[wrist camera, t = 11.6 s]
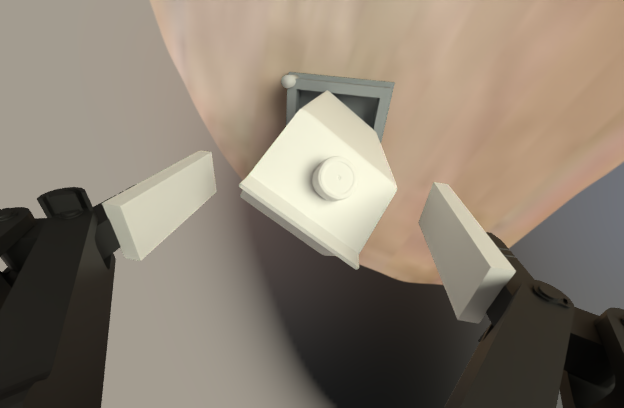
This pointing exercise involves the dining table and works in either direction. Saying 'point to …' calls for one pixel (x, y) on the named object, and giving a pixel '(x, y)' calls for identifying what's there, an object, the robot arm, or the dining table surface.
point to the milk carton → (324, 179)
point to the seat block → (341, 96)
